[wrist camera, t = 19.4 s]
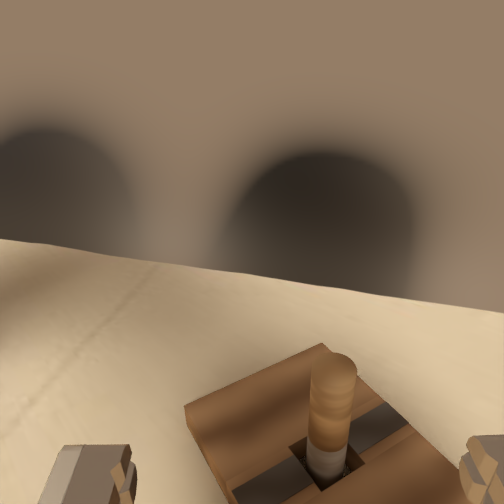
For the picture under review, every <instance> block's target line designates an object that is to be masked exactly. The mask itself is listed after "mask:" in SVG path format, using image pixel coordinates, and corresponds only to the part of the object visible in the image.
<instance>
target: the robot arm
mask: <svg viewBox="0 0 504 504" xmlns="http://www.w3.org/2000/svg"><path fill="white" fill-rule="evenodd" d="M466 446H467V448H468V450H469V452H468V453H466V454H465V455H463V456H462V457H461V460H460V464H459V475H460V480H461V484H462V487H463V490H464V492H465V495H466V497H467V499H468V500H470V501H471V502H472V503H473V504H504V435H482V436H472V437H470V438H469V439H468V441H467V444H466ZM131 455H132V451H131V448H130V445H129V444H114V445H64V446H63V448H62V449H61V450H60V452H59V453H58V456H57V458H56V461H55V463H54V465H53V468H52V470H51V473H50V475H49V477H48V480H47V482H46V485H45V487H44V489H43V492H42V494H41V497H40V499H39V502H38V504H134V500H135V495H136V487H137V470H136V466H135V464H134V463H133V462H131V461H130V459H131Z"/></svg>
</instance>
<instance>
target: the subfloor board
mask: <svg viewBox="0 0 504 504" xmlns="http://www.w3.org/2000/svg"><path fill="white" fill-rule="evenodd" d="M324 353H333V352H332V351H330V350H329V349H328V348H327V347H326V346H325V345H324V344H323V343H320V344H318V345H316V346H313V347H311V348H309V349H307V350H305V351H303V352H300V353H298V354H296V355H294V356H292V357H289V358H287V359H285V360H283V361H281V362H279V363H276V364H274V365H272V366H270V367H268V368H265V369H263V370H261V371H259V372H257V373H255V374H252V375H250V376H248V377H246V378H244V379H241V380H239V381H237V382H235V383H233V384H231V385H228V386H226V387H224V388H222V389H220V390H217V391H215V392H213V393H211V394H209V395H206V396H204V397H202V398H200V399H198V400H196V401H193V402H191V403H189V404H187V405H185V406H184V409H185V415H186V422H187V426H188V428H189V430H190V431H191V433H192V435H193V437H194V439H195V441H196V443H197V444H198V446H199V448H200V450H201V452H202V454H203V456H204V458H205V459H206V461H207V463H208V465H209V467H210V469H211V471H212V473H213V474H214V476H215V478H216V480H217V482H218V484H219V486H220V487H221V489H222V491H223V493H224V495H225V497H226V499H227V501H228V502H229V504H473V503H472V502H471V501H470V500H468V499H467V497H466V495H465V492H464V490H463V487H462V484H461V480H460V475H459V470H458V469H457V468H456V467H455V466H454V465H453V464H452V463H451V462H450V461H448V460H447V459H446V458H445V457H444V456H443V455H442V454H441V453H440V452H439V451H438V450H437V449H436V448H435V447H433V446H432V445H431V444H430V443H429V442H428V441H427V440H426V439H425V438H424V437H423V436H422V435H421V434H419V433H418V432H417V431H416V430H415V429H414V428H413V427H412V426H411V425H410V424H409V422H408V421H406V420H405V419H404V418H403V417H402V416H401V415H400V414H399V413H398V412H397V411H396V410H395V409H394V408H392V407H391V406H390V405H389V404H388V403H387V402H385V401H384V400H383V399H382V398H381V397H380V396H379V395H378V394H377V393H376V392H374V391H373V390H372V389H371V388H370V387H369V386H368V385H367V384H366V383H365V382H364V381H363V380H362V379H361V378H359V377H358V376H356V383H355V391H354V398H353V406H352V413H351V421H350V428H349V436H348V443H347V451H346V458H345V463H346V465H347V466H348V467H349V468H350V469H351V470H352V473H350V474H349V475H347V476H346V477H344V478H343V479H341V480H339V481H338V482H336V483H335V484H333V485H332V486H330V487H329V488H327V489H325V490H324V491H322V492H321V491H320V490H319V488H318V487H317V486H316V484H315V483H314V481H313V479H312V478H311V477H310V475H309V474H308V473H307V471H306V470H305V469H304V467H303V466H302V464H301V463H300V462H299V459H301V458H303V457H304V456H306V454H307V437H308V420H309V403H310V386H311V369H312V362H313V361H314V359H315V358H316V357H317V356H319V355H321V354H324Z"/></svg>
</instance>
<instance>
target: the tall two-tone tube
mask: <svg viewBox="0 0 504 504" xmlns="http://www.w3.org/2000/svg"><path fill="white" fill-rule="evenodd" d="M356 376H357V368H356V365H355V364H354V362H353V361H352V360H351V359H350V358H348V357H347V356H345V355H342V354H339V353H324V354H321V355H319V356H317V357H316V358H315V359H314V361H313V362H312V369H311V386H310V403H309V420H308V437H307V454H306V471H307V473H308V474H309V475H310V477H311V478H312V479H313V481H314V483H315V484H316V486H317V487H318V488H319V490H320V491H321V492H322V491H324V490H325V489H327V488H329V487H330V486H332V485H333V484H335V483H336V482H338V481H339V480H341V479H343V473H344V466H345V458H346V451H347V443H348V436H349V428H350V421H351V413H352V406H353V398H354V391H355V383H356Z"/></svg>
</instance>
